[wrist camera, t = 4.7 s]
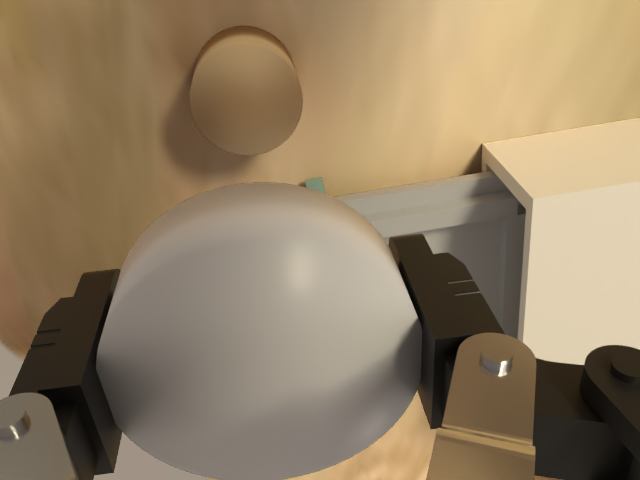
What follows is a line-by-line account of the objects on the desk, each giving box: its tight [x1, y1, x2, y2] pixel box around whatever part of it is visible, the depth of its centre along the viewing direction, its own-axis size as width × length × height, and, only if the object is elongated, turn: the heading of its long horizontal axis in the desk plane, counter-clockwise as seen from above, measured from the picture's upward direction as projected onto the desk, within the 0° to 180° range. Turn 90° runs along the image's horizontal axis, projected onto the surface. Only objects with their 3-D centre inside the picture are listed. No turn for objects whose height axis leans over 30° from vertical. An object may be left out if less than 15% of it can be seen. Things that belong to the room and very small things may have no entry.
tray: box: [305, 171, 526, 339], centre depth 31 cm, size 14×11×4 cm
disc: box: [96, 182, 422, 480], centre depth 12 cm, size 6×6×2 cm
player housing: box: [482, 118, 640, 365], centre depth 31 cm, size 14×11×6 cm
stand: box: [189, 26, 303, 155], centre depth 25 cm, size 4×4×4 cm
